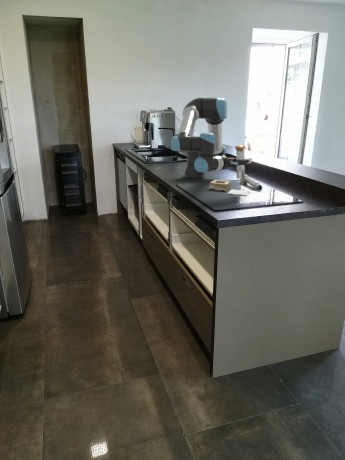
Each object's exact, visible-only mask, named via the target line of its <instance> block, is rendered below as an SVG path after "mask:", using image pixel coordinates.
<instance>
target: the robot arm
mask: <svg viewBox="0 0 345 460" xmlns="http://www.w3.org/2000/svg"><path fill="white" fill-rule="evenodd" d="M227 117H228V103H227V100H226V99H225V98H224V97H223V98H222V97H198V98H195V99H192V100H190V101H189V102H188V103H187V104H186V105H185V106H184V108H183V110H182V120H181V123H180V125H179V129H178V133H177V135H173V136H172V137H171V140H170V147H171V151H174V152H187V153H186V167H185V169H184V173H183V177H184V178H186V179H194V180H195V179H205V178H206V173H208V172H214V173H215V172H217V171H223V170H224V171H225V170H227V169H228V167H232V166H236V167H237V166H238V165H244V166H245V165H247V164H252V162H253V160H252V159H253V158H252V157H250V158H246V157H245V156H244V159H241V160H236V156H233V157H227V156H226V151H227V147H226V146H225V145H224V143H222V141H223V140H222V139H223V138H222V137H223V135H222V134H223V132H222V131H223V128H222V127H223V126H222V125H223V122H224V120H226V119H227ZM198 119H201V120H202V119H204V120H205V122H206V123H207V132H201V133H200V134H199V136H193V134H194V131H195V126H196V122H197V120H198Z"/></svg>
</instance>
